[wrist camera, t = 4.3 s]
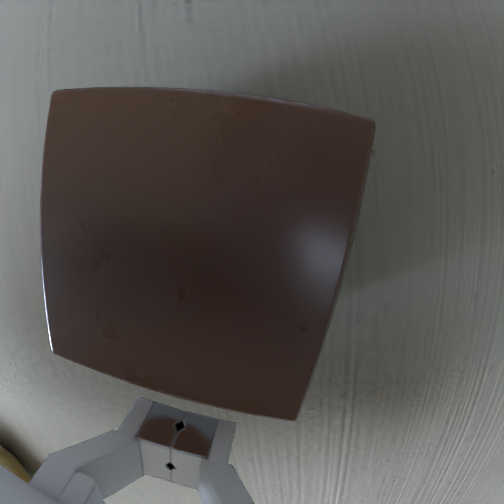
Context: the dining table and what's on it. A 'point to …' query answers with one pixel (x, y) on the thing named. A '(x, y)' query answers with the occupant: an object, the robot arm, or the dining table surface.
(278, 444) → the dining table surface
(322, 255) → the walnut block
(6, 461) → the cantaloupe
